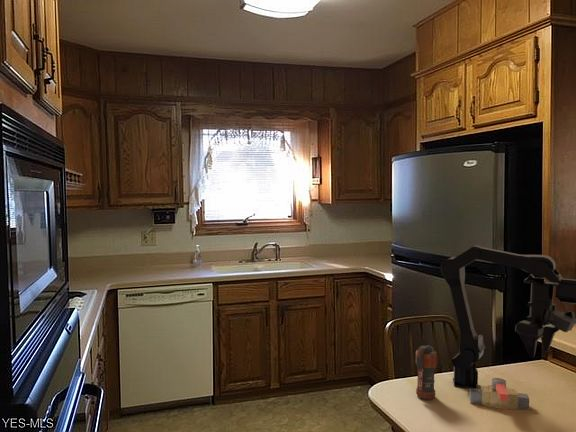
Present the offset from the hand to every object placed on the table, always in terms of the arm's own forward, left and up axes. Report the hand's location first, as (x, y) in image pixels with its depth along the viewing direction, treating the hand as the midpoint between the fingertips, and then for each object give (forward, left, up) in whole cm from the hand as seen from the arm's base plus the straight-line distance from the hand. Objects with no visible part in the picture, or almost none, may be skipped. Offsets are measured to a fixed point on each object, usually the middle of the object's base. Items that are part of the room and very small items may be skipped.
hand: (539, 353), depth 138 cm
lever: (-11, -10, -9) cm, 18 cm away
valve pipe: (-11, -7, -13) cm, 19 cm away
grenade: (-31, -8, -14) cm, 35 cm away
